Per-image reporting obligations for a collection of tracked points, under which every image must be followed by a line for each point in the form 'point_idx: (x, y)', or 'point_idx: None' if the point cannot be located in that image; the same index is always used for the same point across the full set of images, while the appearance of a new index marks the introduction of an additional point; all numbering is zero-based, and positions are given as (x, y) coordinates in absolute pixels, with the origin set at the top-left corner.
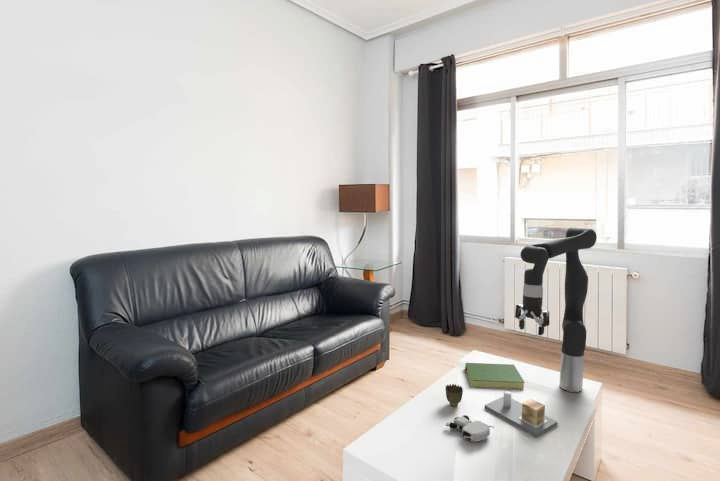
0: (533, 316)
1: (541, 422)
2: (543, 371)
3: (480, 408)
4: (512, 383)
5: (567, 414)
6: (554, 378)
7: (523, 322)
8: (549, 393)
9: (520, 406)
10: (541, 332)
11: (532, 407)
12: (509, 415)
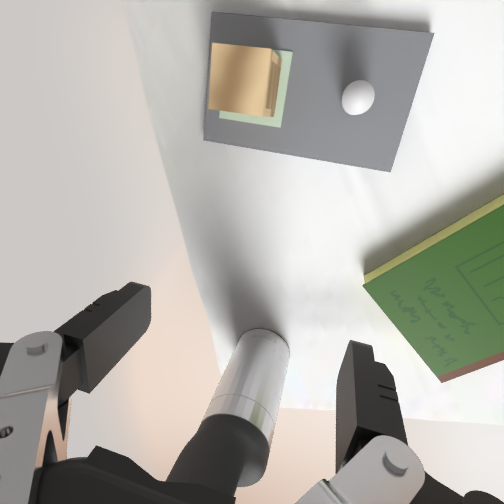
0: (15, 491)
1: None
2: None
3: (445, 21)
4: (399, 263)
5: (214, 215)
6: (314, 378)
7: (342, 435)
8: (292, 293)
9: (318, 138)
10: (102, 302)
11: (229, 49)
12: (322, 44)
